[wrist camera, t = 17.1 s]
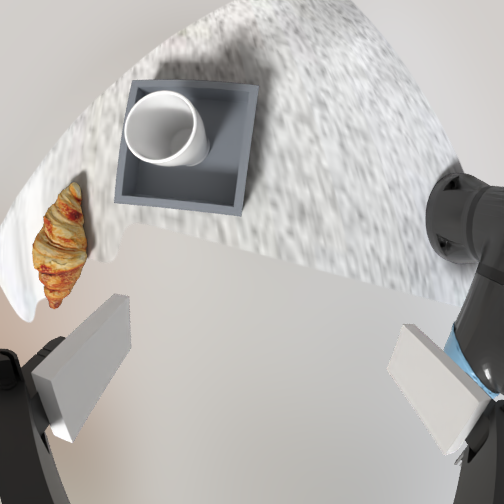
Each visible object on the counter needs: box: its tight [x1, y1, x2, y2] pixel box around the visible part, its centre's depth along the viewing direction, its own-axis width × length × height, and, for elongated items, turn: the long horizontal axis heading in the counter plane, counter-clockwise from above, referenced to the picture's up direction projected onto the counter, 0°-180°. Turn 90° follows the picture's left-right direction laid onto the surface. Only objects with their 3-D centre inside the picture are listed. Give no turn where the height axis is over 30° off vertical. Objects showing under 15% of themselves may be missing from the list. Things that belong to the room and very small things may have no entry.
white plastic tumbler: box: [124, 90, 210, 167], centre depth 30 cm, size 7×7×15 cm
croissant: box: [32, 182, 87, 309], centre depth 38 cm, size 21×10×8 cm, turn 162°
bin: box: [114, 80, 259, 216], centre depth 35 cm, size 16×16×6 cm
